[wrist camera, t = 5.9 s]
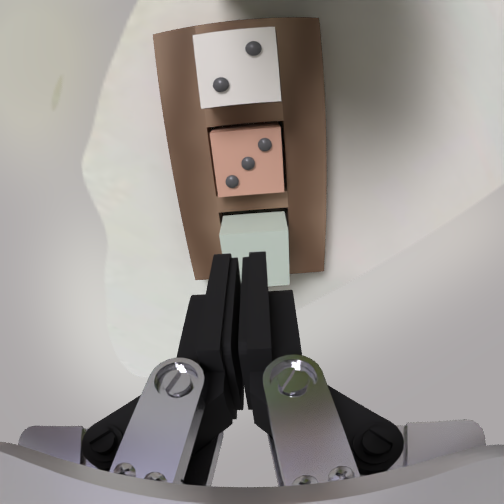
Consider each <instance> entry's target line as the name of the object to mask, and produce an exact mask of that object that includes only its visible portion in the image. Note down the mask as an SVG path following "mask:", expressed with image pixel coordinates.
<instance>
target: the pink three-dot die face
mask: <svg viewBox="0 0 504 504" xmlns="http://www.w3.org/2000/svg"><path fill="white" fill-rule="evenodd" d="M210 140H211V147H212V155H213V162H214V170H215V177H216V184H217V191H218V197H229V196H240V195H253V194H266V193H280V192H284V176H283V158H282V141H281V127H280V125H279V123H278V122H277V121H270V122H256V123H244V124H234V125H224V126H215V127H214V129H213V130H212V131H211V132H210Z"/></svg>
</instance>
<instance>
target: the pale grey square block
mask: <svg viewBox="0 0 504 504" xmlns="http://www.w3.org/2000/svg"><path fill="white" fill-rule="evenodd" d="M219 237H220V244H221V250H222V254H229V253H231V256H232V258H236V257H238V262H239V271H240V279H241V278H242V260H243V257H249V252H262V251H266V262H267V279H268V286H282V285H290V277H289V239H288V227H287V222H286V217H285V212H284V211H281V212H266V213H253V214H240V215H228V216H223V218H222V223H221V228H220V233H219Z"/></svg>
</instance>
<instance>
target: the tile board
mask: <svg viewBox="0 0 504 504" xmlns="http://www.w3.org/2000/svg"><path fill="white" fill-rule="evenodd" d="M259 27H275V32H276V43H277V54H278V65H279V77H280V90H281V101H277V102H261V103H248V104H238V105H228V106H219V107H211V108H203V109H201V104H200V96H199V88H198V79H197V71H196V62H195V53H194V44H193V35H197V34H204V33H210V32H218V31H226V30H235V29H246V28H259ZM153 40H154V49H155V58H156V66H157V74H158V82H159V89H160V97H161V103H162V110H163V117H164V123H165V130H166V136H167V142H168V148H169V154H170V159H171V165H172V170H173V176H174V181H175V187H176V192H177V197H178V202H179V207H180V212H181V217H182V222H183V226H184V231H185V236H186V240H187V245H188V250H189V254H190V258H191V263H192V267H193V271H194V276H195V280H206V279H209V275H210V270H211V265H212V260H213V256H214V254H222V250H221V244H220V237H219V233H220V228H221V223H222V218H223V213H222V212H232V211H244V210H257V209H271V208H285V207H286V218H287V227H288V239H289V274H295V273H308V272H321V271H324V258H325V234H326V184H327V163H326V114H325V91H324V73H323V58H322V45H321V34H320V23H319V18H310V17H285V18H260V19H246V20H236V21H226V22H218V23H211V24H204V25H198V26H192V27H186V28H181V29H176V30H171V31H166V32H162V33H157V34H153ZM268 121H281V124H282V139H283V156H284V174H285V182H284V192H280V193H266V194H253V195H240V196H229V197H218V191H217V184H216V177H215V170H214V162H213V155H212V147H211V140H210V132H211V127H214V126H223V125H232V124H243V123H255V122H268Z"/></svg>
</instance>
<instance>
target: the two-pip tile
mask: <svg viewBox="0 0 504 504" xmlns="http://www.w3.org/2000/svg"><path fill="white" fill-rule="evenodd" d="M193 44H194V53H195V62H196V71H197V79H198V88H199V96H200V104H201V109H203V108H211V107H219V106H228V105H238V104H248V103H261V102H277V101H281V90H280V77H279V65H278V54H277V43H276V32H275V27H259V28H246V29H235V30H226V31H218V32H210V33H204V34H197V35H193Z"/></svg>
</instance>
